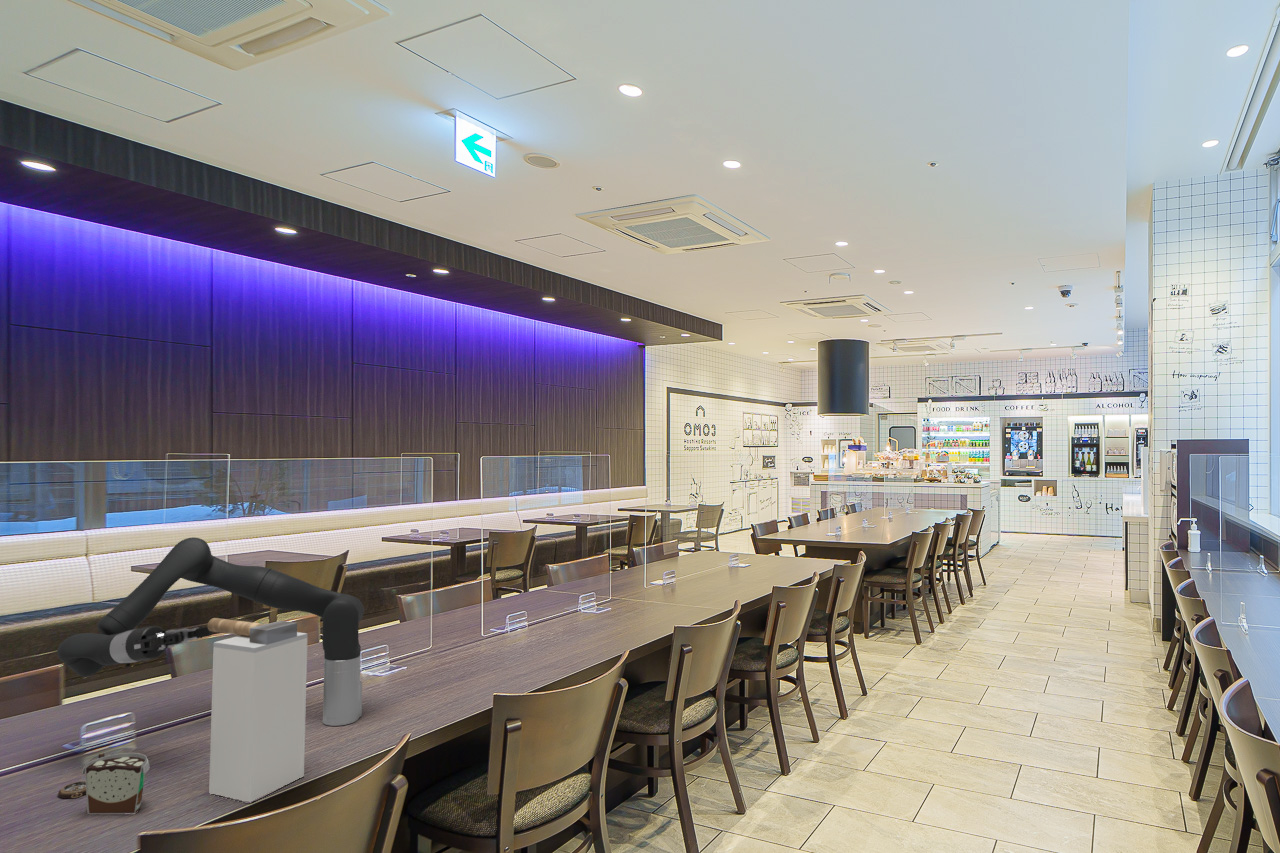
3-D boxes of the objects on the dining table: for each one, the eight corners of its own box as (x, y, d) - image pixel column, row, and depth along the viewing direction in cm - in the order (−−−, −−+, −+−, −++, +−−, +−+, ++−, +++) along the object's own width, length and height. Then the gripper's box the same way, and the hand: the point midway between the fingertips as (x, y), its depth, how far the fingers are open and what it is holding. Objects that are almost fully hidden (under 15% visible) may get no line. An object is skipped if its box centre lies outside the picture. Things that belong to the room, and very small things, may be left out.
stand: (264, 768, 171) (268, 628, 172) (303, 777, 166) (307, 633, 168) (208, 794, 158) (213, 642, 159) (250, 804, 153) (254, 648, 155)
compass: (57, 791, 159) (58, 757, 159) (103, 782, 163) (104, 748, 164) (57, 805, 152) (58, 769, 153) (104, 795, 157) (106, 760, 157)
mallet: (197, 635, 165) (197, 621, 165) (228, 627, 173) (229, 614, 173) (266, 644, 157) (267, 630, 158) (296, 636, 165) (297, 622, 165)
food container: (161, 800, 155) (163, 751, 155) (142, 814, 149) (144, 763, 149) (101, 800, 155) (103, 751, 155) (80, 814, 148) (82, 764, 149)
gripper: (109, 634, 168) (167, 623, 164) (162, 623, 181) (218, 612, 178) (112, 668, 167) (171, 657, 163) (166, 654, 180) (221, 644, 177)
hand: (195, 634), depth 171 cm, fingers open, 8 cm apart
